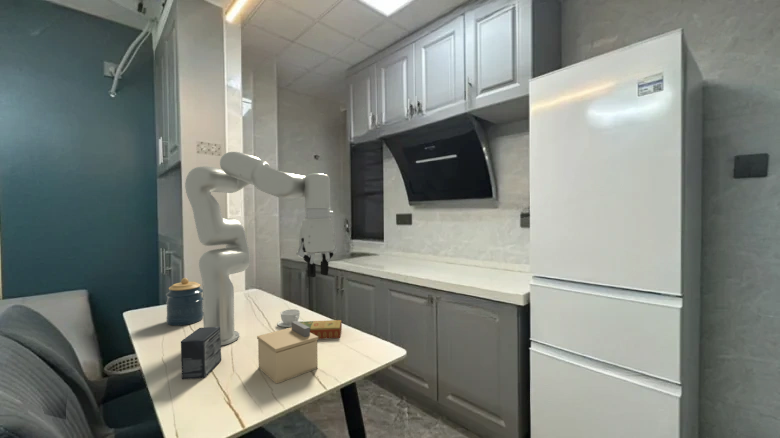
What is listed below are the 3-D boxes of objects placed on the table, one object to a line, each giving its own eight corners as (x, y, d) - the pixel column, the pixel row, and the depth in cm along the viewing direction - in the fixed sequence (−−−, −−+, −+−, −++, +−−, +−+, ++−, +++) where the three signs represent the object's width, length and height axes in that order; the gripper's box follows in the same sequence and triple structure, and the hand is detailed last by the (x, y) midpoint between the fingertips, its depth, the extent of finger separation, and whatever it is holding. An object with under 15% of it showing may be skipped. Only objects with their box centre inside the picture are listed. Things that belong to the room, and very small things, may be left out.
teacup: (272, 324, 131) (272, 312, 131) (294, 318, 139) (294, 307, 139) (286, 329, 125) (286, 317, 125) (308, 323, 132) (308, 311, 132)
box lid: (257, 338, 94) (257, 327, 94) (297, 328, 102) (297, 318, 102) (275, 352, 85) (275, 340, 85) (318, 339, 93) (318, 328, 93)
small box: (199, 361, 98) (198, 326, 98) (222, 360, 99) (221, 326, 98) (179, 379, 88) (179, 340, 87) (205, 378, 88) (204, 339, 88)
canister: (158, 324, 131) (157, 280, 131) (187, 314, 143) (186, 274, 143) (183, 327, 127) (182, 282, 127) (211, 317, 140) (210, 275, 139)
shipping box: (258, 367, 94) (258, 339, 94) (297, 355, 102) (297, 329, 102) (276, 383, 85) (276, 353, 85) (317, 368, 93) (317, 340, 93)
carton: (340, 339, 116) (340, 327, 116) (293, 340, 115) (293, 328, 115) (341, 330, 124) (341, 319, 124) (298, 332, 123) (298, 320, 123)
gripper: (334, 214, 108) (334, 270, 108) (286, 215, 97) (286, 277, 97) (347, 214, 102) (347, 273, 103) (298, 215, 91) (298, 281, 92)
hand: (318, 275), depth 100 cm, fingers open, 3 cm apart
